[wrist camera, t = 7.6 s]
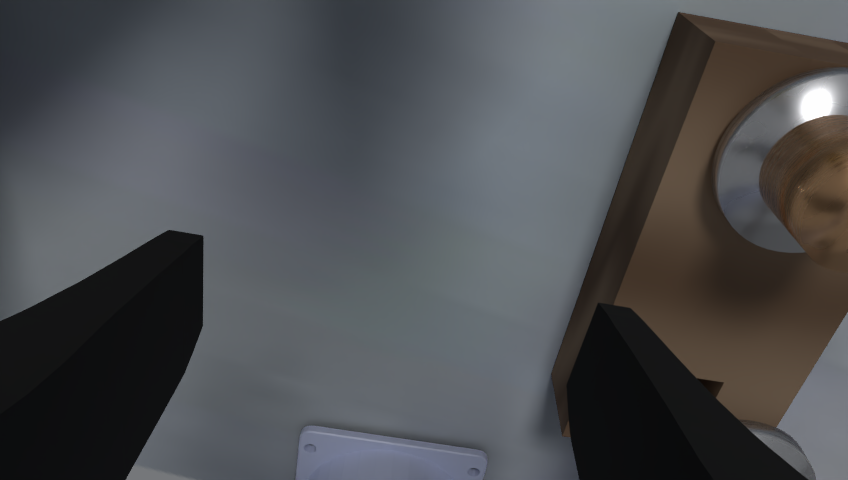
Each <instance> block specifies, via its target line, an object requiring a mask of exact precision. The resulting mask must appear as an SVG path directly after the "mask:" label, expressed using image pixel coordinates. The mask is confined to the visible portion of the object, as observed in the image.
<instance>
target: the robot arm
mask: <svg viewBox="0 0 848 480" xmlns="http://www.w3.org/2000/svg"><path fill="white" fill-rule="evenodd" d="M202 327H203V236H202V235H196V234H190V233H184V232H178V231H172V230H168V231H166V232H164V233H162V234H161V235H159V236H157V237H155V238H154V239H152V240H150V241H148V242H147V243H145V244H143V245H142V246H140V247H138V248H137V249H135V250H134V251H132V252H130V253H129V254H127V255H125V256H124V257H122V258H120V259H118V260H117V261H115V262H113V263H112V264H110V265H108V266H106V267H105V268H103V269H101V270H99V271H98V272H96V273H94V274H93V275H91V276H89V277H87V278H86V279H84V280H82V281H80V282H78V283H76V284H75V285H73V286H71V287H69V288H67V289H65V290H63V291H61V292H59V293H57V294H55V295H53V296H51V297H49V298H47V299H46V300H44V301H42V302H40V303H38V304H36V305H34V306H32V307H30V308H28V309H26V310H24V311H22V312H20V313H17V314H15V315H13V316H11V317H9V318H6V319H4V320H2V321H0V480H126V478H127V476H128V474H129V472H130V471H131V469H132V467H133V465H134V463H135V462H136V460H137V458H138V456H139V455H140V453H141V451H142V449H143V447H144V446H145V444H146V442H147V440H148V438H149V437H150V435H151V433H152V431H153V430H154V428H155V426H156V424H157V422H158V421H159V419H160V417H161V415H162V413H163V412H164V410H165V408H166V406H167V404H168V403H169V401H170V399H171V397H172V395H173V393H174V392H175V390H176V388H177V386H178V384H179V382H180V381H181V379H182V377H183V375H184V373H185V371H186V368H187V366H188V363H189V361H190V358H191V356H192V353H193V351H194V348H195V345H196V343H197V340H198V337H199V335H200V332H201V329H202ZM566 387H567V403H568V417H569V428H570V436H571V442H572V447H573V451H574V456H575V461H576V465H577V470H578V475H579V479H580V480H808V479H807V478H806V477H805V476H803V475H802V474H801V473H799V472H798V471H797V470H796V469H795V468H793V467H792V466H791V465H790V464H788V463H787V462H786V461H785V460H784V459H782V458H781V457H780V456H779V455H778V454H776V453H775V452H774V451H773V450H772V449H770V448H769V447H768V446H767V445H766V444H764V443H763V442H762V441H761V440H760V439H759V438H758V437H757V436H755V435H754V434H753V433H752V432H751V431H750V430H749V429H748V428H747V427H746V426H744V425H743V424H742V423H741V422H740V421H739V420H738V419H737V418H736V417H735V416H734V415H733V414H732V413H731V412H730V411H729V410H728V409H727V408H726V407H725V406H723V405H722V404H721V403H720V402H719V401H718V400H717V399H716V398H715V397H714V396H713V395H712V394H711V393H710V392H709V391H708V390H707V389H706V387H705V386H704V385H703V384H702V383H701V382H700V381H699V380H698V379H697V378H696V377H695V376H694V375H693V374H692V373H691V372H690V371H689V370H688V369H687V368H686V366H685V365H684V364H683V363H682V362H681V361H680V360H679V359H678V358H677V357H676V356H675V355H674V353H673V352H672V351H671V350H670V349H669V348H668V347H667V346H666V345H665V344H664V343H663V341H662V340H661V339H660V338H659V337H658V336H657V335H656V334H655V333H654V332H653V330H652V329H651V328H650V327H649V326H648V325H647V324H646V323H645V322H644V321H643V320H642V319H641V318H640V317H639V316H638V315H637V314H636V313H635V312H634V311H633V310H632V309H631V308H628V307H622V306H616V305H610V304H605V303H599V302H598V304H597V306H596V309H595V312H594V314H593V317H592V319H591V322H590V325H589V327H588V330H587V332H586V335H585V338H584V340H583V343H582V345H581V348H580V351H579V353H578V356H577V358H576V361H575V364H574V366H573V369H572V371H571V374H570V377H569V379H568V382H567V385H566ZM309 444H312V445H309ZM487 465H488V460H487V455H486V453H485V452H483V451H481V450H477V449H470V448H464V447H457V446H450V445H443V444H436V443H430V442H423V441H416V440H409V439H402V438H395V437H389V436H382V435H375V434H368V433H361V432H355V431H348V430H341V429H334V428H327V427H321V426H314V425H309V426H306V427H304V428H303V429H302V430H301V433H300V437H299V447H298V457H297V467H296V477H295V480H483V478H484V475H485V471H486V468H487ZM471 468H476V469H471Z"/></svg>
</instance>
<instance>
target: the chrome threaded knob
mask: <svg viewBox="0 0 848 480" xmlns="http://www.w3.org/2000/svg"><path fill="white" fill-rule="evenodd" d="M738 420H739V421H740V422H741V423H742V424H743V425H744V426H746V427H747V428H748V429H749V430H750V431H751V432H752V433H753V434H754V435H755V436H757V437H758V438H759V439H760V440H761V441H762V442H763V443H764V444H766V445H767V446H768V447H769V448H770V449H772V450H773V451H774V452H775V453H776V454H778V455H779V456H780V457H781V458H782V459H784V460H785V461H786V462H787V463H788V464H790V465H791V466H792V467H793V468H795V469H796V470H797V471H798V472H799V473H801V474H802V475H803V476H805V477H806V478H807V479H808V480H816V477H815V473H814V470H813V468H812V466H811V464H810V463H809V461H808V459H807V457H806V455H805V454H804V452H803V450H802V448H801V447H800V446H799V444H798V443H797V442H796V441H795V440H794V439H793V438H792V437H791V436H790V435H788V434H787V433H785V432H784V431H782V430H780V429H778V428H776V427H774V426H771V425H768V424H765V423H761V422H756V421H751V420H741V419H738Z"/></svg>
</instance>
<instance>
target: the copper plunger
mask: <svg viewBox="0 0 848 480" xmlns="http://www.w3.org/2000/svg"><path fill="white" fill-rule="evenodd" d="M711 181H712V190H713V194H714V197H715V200H716V202H717V205H718V207H719V209H720V210H721V212H722V213H723V215H724V216H725V217H726V219H727V220H728V222H729V223H730V224H731V226H732V227H733V228H734V229H735V230H736V231H737V232H738V233H739V234H740V235H741V236H742V237H744V238H745V239H746V240H748V241H750V242H751V243H753V244H755V245H757V246H760V247H763V248H765V249H769V250H773V251H778V252H787V253H803V252H806V253H807V254H808V255H809V256H810V258H811V259H812V260H813V261H815V262H816V263H817V264H819V265H820V266H822V267H824V268H826V269H829V270H832V271H836V272H842V273H848V68H844V67H833V68H823V69H816V70H811V71H808V72H804V73H800V74H798V75H795V76H792V77H790V78H787V79H785V80H783V81H781V82H779V83H777V84H775V85H773V86H772V87H770V88H769V89H767V90H765V91H764V92H762V93H761V94H760V95H758V96H757V97H756V98H755V99H753V100H752V101H751V102H750V103H749V104H748V105H747V106H745V107H744V108H743V109H742V110H741V111H740V112H739V114H738V115H737V116H736V117H735V118H734V120H733V121H732V122H731V124H730V125H729V127H728V128H727V130H726V131H725V133H724V134H723V136H722V138H721V140H720V142H719V144H718V147H717V150H716V153H715V156H714V160H713V165H712V175H711Z"/></svg>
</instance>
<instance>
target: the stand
mask: <svg viewBox="0 0 848 480" xmlns="http://www.w3.org/2000/svg"><path fill="white" fill-rule="evenodd" d="M833 67H844V68H848V43H844V42H839V41H833V40H828V39H822V38H817V37H811V36H806V35H801V34H795V33H790V32H784V31H779V30H773V29H768V28H762V27H757V26H751V25H746V24H740V23H735V22H730V21H724V20H719V19H713V18H708V17H702V16H697V15H691V14H686V13H680V12H678V15H677V18H676V20H675V23H674V26H673V29H672V32H671V35H670V38H669V40H668V43H667V46H666V49H665V52H664V55H663V57H662V60H661V63H660V66H659V69H658V72H657V74H656V77H655V80H654V83H653V86H652V89H651V92H650V94H649V97H648V100H647V103H646V106H645V109H644V111H643V114H642V117H641V120H640V123H639V126H638V129H637V131H636V134H635V137H634V140H633V143H632V146H631V148H630V151H629V154H628V157H627V160H626V163H625V166H624V168H623V171H622V174H621V177H620V180H619V183H618V185H617V188H616V191H615V194H614V197H613V200H612V203H611V205H610V208H609V211H608V214H607V217H606V220H605V222H604V225H603V228H602V231H601V234H600V237H599V240H598V242H597V245H596V248H595V251H594V254H593V257H592V259H591V262H590V265H589V268H588V271H587V274H586V277H585V279H584V282H583V285H582V288H581V291H580V294H579V296H578V299H577V302H576V305H575V308H574V311H573V314H572V316H571V319H570V322H569V325H568V328H567V331H566V333H565V336H564V339H563V342H562V345H561V348H560V350H559V353H558V356H557V359H556V362H555V365H554V368H553V370H552V373H551V375H552V381H553V387H554V392H555V398H556V404H557V409H558V415H559V420H560V426H561V432H562V436H564V437H571V436H570V428H569V417H568V403H567V387H566V385H567V382H568V379H569V377H570V374H571V371H572V369H573V366H574V364H575V361H576V358H577V356H578V353H579V351H580V348H581V345H582V343H583V340H584V338H585V335H586V332H587V330H588V327H589V325H590V322H591V319H592V317H593V314H594V312H595V309H596V306H597V304H598V302H599V303H605V304H610V305H616V306H622V307H628V308H631V309H632V310H633V311H634V312H635V313H636V314H637V315H638V316H639V317H640V318H641V319H642V320H643V321H644V322H645V323H646V324H647V325H648V326H649V327H650V328H651V329H652V330H653V332H654V333H655V334H656V335H657V336H658V337H659V338H660V339H661V340H662V341H663V343H664V344H665V345H666V346H667V347H668V348H669V349H670V350H671V351H672V352H673V353H674V355H675V356H676V357H677V358H678V359H679V360H680V361H681V362H682V363H683V364H684V365H685V366H686V368H687V369H688V370H689V371H690V372H691V373H692V374H693V375H694V376H695V377H696V378H697V379H698V380H699V381H700V382H701V383H702V384H703V385H704V386H705V387H706V389H707V390H708V391H709V392H710V393H711V394H712V395H713V396H714V397H715V398H716V399H717V400H718V401H719V402H720V403H721V404H722V405H723V406H725V407H726V408H727V409H728V410H729V411H730V412H731V413H732V414H733V415H734V416H735V417H736V418H737V419H741V420H751V421H756V422H761V423H765V424H768V425H771V426H774V427H777V425H778V424H779V422H780V420H781V419H782V417H783V416H784V414H785V412H786V411H787V409H788V408H789V406H790V404H791V403H792V401H793V399H794V398H795V396H796V395H797V393H798V391H799V390H800V388H801V386H802V385H803V383H804V382H805V380H806V378H807V377H808V375H809V374H810V372H811V370H812V369H813V367H814V365H815V364H816V362H817V361H818V359H819V357H820V356H821V354H822V352H823V351H824V349H825V348H826V346H827V344H828V343H829V341H830V340H831V338H832V336H833V335H834V333H835V331H836V330H837V328H838V327H839V325H840V323H841V322H842V320H843V318H844V317H845V315H846V314H847V312H848V273H842V272H836V271H832V270H829V269H826V268H824V267H822V266H820V265H819V264H817V263H816V262H815V261H813V260H812V259H811V258H810V256H809V255H808V254H807V253H806V252H803V253H787V252H778V251H773V250H769V249H765V248H763V247H760V246H757V245H755V244H753V243H751V242H750V241H748V240H746V239H745V238H744V237H742V236H741V235H740V234H739V233H738V232H737V231H736V230H735V229H734V228H733V227H732V226H731V224H730V223H729V222H728V220H727V219H726V217H725V216H724V215H723V213H722V212H721V210H720V209H719V207H718V205H717V202H716V200H715V197H714V194H713V190H712V181H711V175H712V165H713V160H714V156H715V153H716V150H717V147H718V144H719V142H720V140H721V138H722V136H723V134H724V133H725V131H726V130H727V128H728V127H729V125H730V124H731V122H732V121H733V120H734V118H735V117H736V116H737V115H738V114H739V112H740V111H741V110H742V109H743V108H744V107H745V106H747V105H748V104H749V103H750V102H751V101H752V100H753V99H755V98H756V97H757V96H758V95H760V94H761V93H762V92H764V91H765V90H767V89H769V88H770V87H772V86H773V85H775V84H777V83H779V82H781V81H783V80H785V79H787V78H790V77H792V76H795V75H798V74H800V73H804V72H808V71H811V70H816V69H823V68H833Z"/></svg>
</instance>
